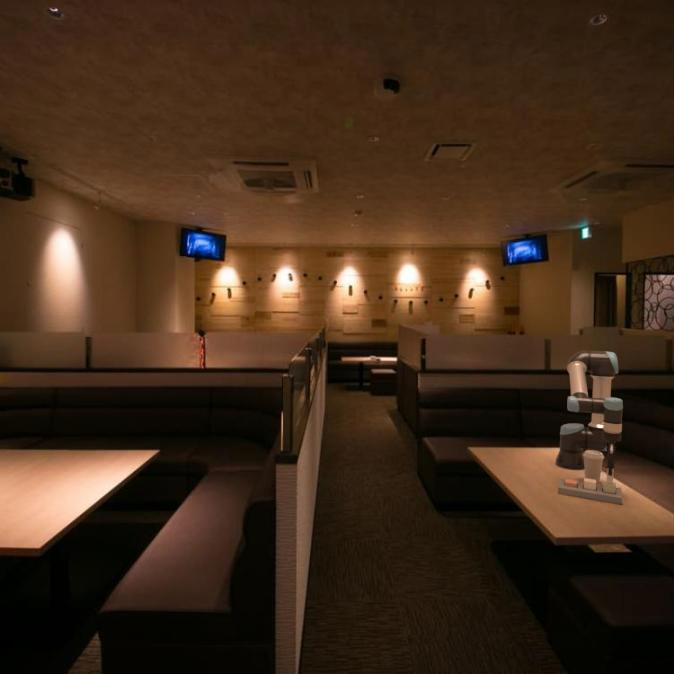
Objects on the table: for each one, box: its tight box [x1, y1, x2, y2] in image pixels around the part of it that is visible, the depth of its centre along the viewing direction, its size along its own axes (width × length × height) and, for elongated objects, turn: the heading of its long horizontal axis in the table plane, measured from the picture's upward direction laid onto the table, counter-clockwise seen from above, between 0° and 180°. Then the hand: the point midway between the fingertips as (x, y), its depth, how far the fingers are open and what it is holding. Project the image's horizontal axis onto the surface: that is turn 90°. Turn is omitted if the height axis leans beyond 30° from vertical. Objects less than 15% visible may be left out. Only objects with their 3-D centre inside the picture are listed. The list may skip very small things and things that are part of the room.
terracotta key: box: [565, 478, 578, 488], centre depth 233 cm, size 5×5×4 cm
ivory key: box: [583, 477, 596, 490], centre depth 229 cm, size 5×5×4 cm
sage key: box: [602, 480, 617, 494], centre depth 225 cm, size 5×5×4 cm
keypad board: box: [558, 478, 623, 506], centre depth 229 cm, size 14×26×3 cm, turn 62°
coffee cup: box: [583, 449, 605, 485], centre depth 246 cm, size 10×10×15 cm
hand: (609, 481), depth 225 cm, fingers closed
